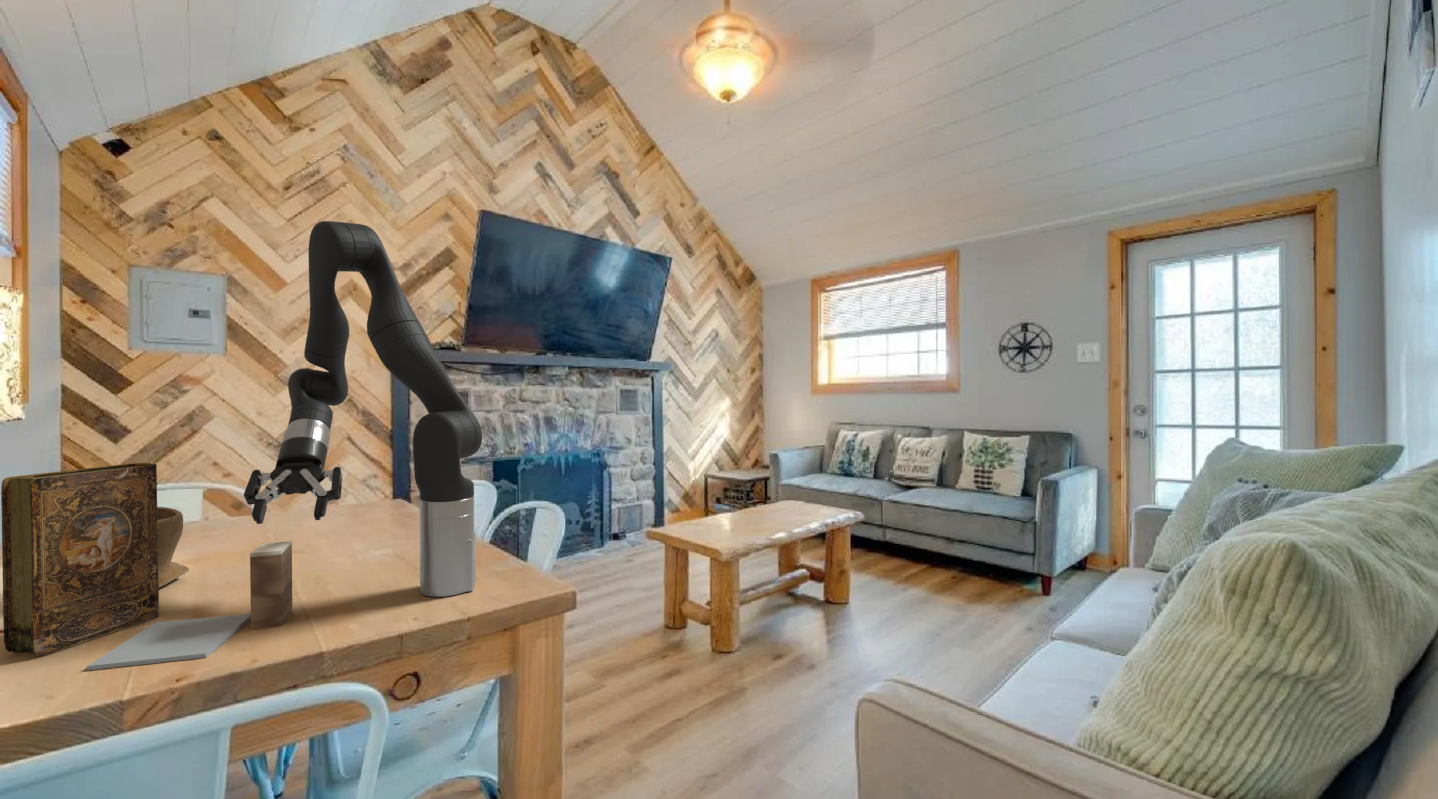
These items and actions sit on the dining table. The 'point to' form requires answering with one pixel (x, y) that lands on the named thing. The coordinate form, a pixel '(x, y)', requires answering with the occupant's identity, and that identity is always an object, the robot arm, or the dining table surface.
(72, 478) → the book
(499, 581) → the dining table surface
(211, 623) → the felt mat
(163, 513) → the stone cup
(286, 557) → the brown rectangular block
